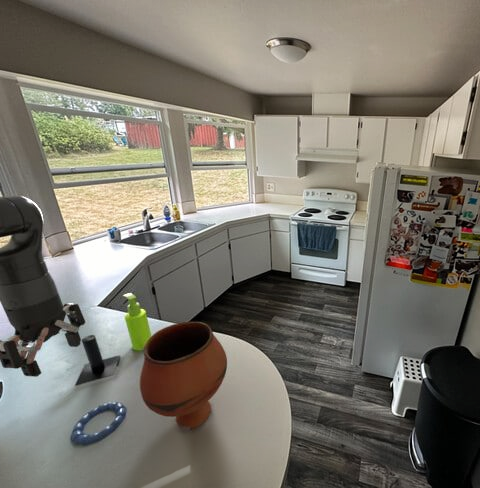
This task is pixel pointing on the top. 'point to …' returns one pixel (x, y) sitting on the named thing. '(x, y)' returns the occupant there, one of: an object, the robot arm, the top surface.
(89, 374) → the ring toss peg
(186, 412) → the goblet
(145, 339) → the soap dispenser
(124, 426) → the top surface
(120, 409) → the ring
